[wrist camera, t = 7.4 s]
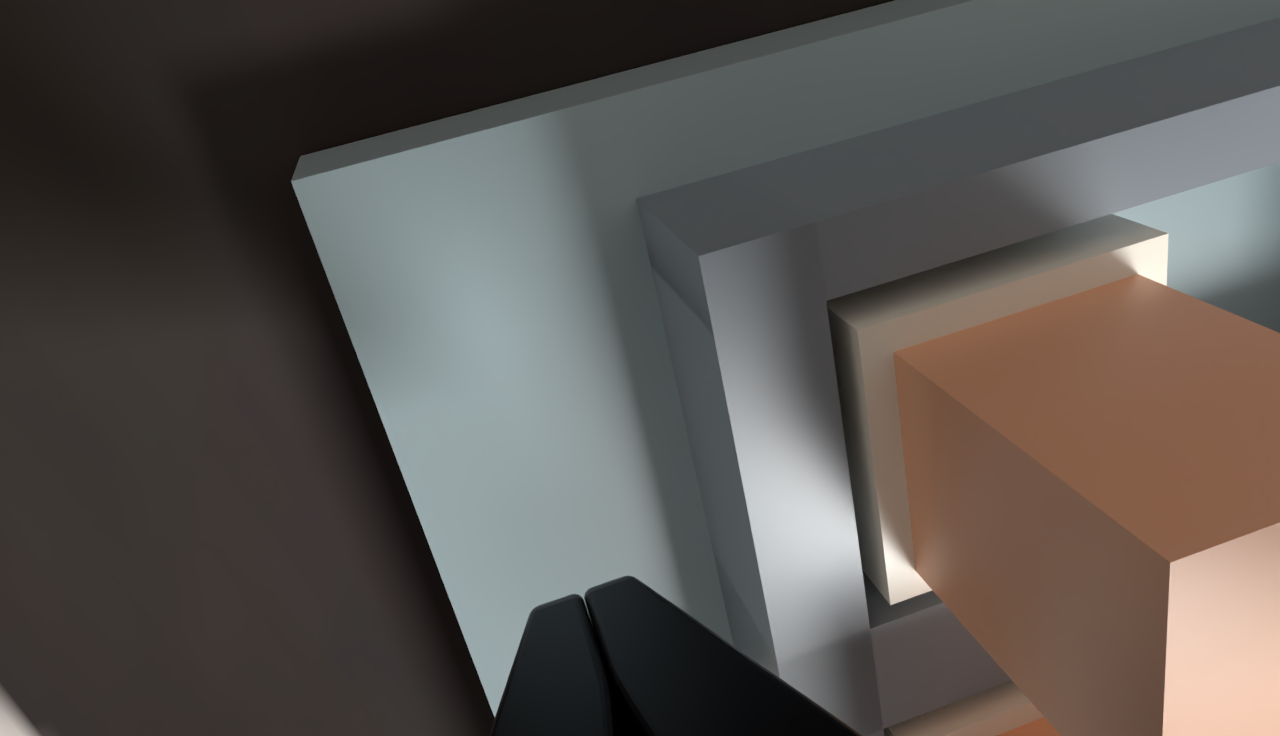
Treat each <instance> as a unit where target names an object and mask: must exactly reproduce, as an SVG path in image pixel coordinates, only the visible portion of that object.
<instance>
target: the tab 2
mask: <svg viewBox="0 0 1280 736" xmlns="http://www.w3.org/2000/svg"><path fill="white" fill-rule="evenodd" d="M884 736H1061V735H1060V734H1059V733H1058V732H1057V731H1056V730H1055V729H1054V728H1053V726H1052V725H1051V724H1050V723H1049V722H1048V721H1047V720H1046V718H1045V717H1044V716H1043V715H1042V714H1041V713H1040V712H1039V710H1038V709H1037V708H1036V707H1035V706H1034V705H1033V704H1032V703H1031V701H1030V700H1029V699H1028V698H1027V697H1026V696H1025V695H1024V693H1023V692H1022V691H1021V690H1020V689H1019V688H1018V687H1017V686H1016V684H1015V683H1014V682H1013V681H1009V682H1007V683H1004V684H1001V685H999V686H996V687H994V688H991V689H988V690H986V691H983V692H980V693H978V694H975V695H972V696H970V697H967V698H964V699H962V700H959V701H956V702H954V703H951V704H948V705H946V706H943V707H940V708H938V709H935V710H932V711H930V712H927V713H925V714H922V715H919V716H917V717H914V718H911V719H909V720H906V721H903V722H901V723H898V724H895V725H893V726H890V727H887V728H885V729H884Z"/></svg>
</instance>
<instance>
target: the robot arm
mask: <svg viewBox="0 0 1280 736" xmlns="http://www.w3.org/2000/svg"><path fill="white" fill-rule="evenodd" d="M584 600H585V602H584ZM584 600H583V598H582V597H581V596H580V595H579V594H570V595H567V596H565V597H562V598H559V599H556V600H553V601H550V602H547V603H544V604H541V605H538V606H537V607H535V608H533V610H532V611H531V612H530V614H529V617H528V620H527V623H526V626H525V629H524V632H523V635H522V638H521V641H520V644H519V647H518V650H517V653H516V656H515V659H514V662H513V665H512V668H511V671H510V674H509V677H508V680H507V683H506V686H505V689H504V692H503V695H502V698H501V701H500V704H499V707H498V710H497V713H496V716H495V719H494V722H493V725H492V728H491V731H490V734H489V736H863V735H862V734H860V733H859V732H857V731H856V730H854V729H853V728H851V727H850V726H849V725H847V724H846V723H844V722H843V721H841V720H840V719H839V718H837V717H836V716H834V715H833V714H831V713H830V712H828V711H827V710H826V709H824V708H823V707H821V706H820V705H818V704H817V703H815V702H814V701H813V700H811V699H810V698H808V697H807V696H805V695H804V694H802V693H801V692H800V691H798V690H797V689H795V688H794V687H792V686H791V685H790V684H788V683H787V682H785V681H784V680H782V679H781V678H779V677H778V676H777V675H775V674H774V673H772V672H771V671H769V670H768V669H766V668H765V667H764V666H762V665H761V664H759V663H758V662H756V661H755V660H753V659H752V658H751V657H749V656H748V655H746V654H745V653H743V652H742V651H741V650H739V649H738V648H736V647H735V646H733V645H732V644H730V643H729V642H728V641H726V640H725V639H723V638H722V637H720V636H719V635H717V634H716V633H715V632H713V631H712V630H710V629H709V628H707V627H706V626H704V625H703V624H702V623H700V622H699V621H697V620H696V619H694V618H693V617H692V616H690V615H689V614H687V613H686V612H684V611H683V610H681V609H680V608H679V607H677V606H676V605H674V604H673V603H671V602H670V601H668V600H667V599H666V598H664V597H663V596H661V595H660V594H658V593H657V592H655V591H654V590H653V589H651V588H650V587H648V586H647V585H645V584H644V583H643V582H641V581H640V580H638V579H637V578H635V577H633V576H629V575H627V576H623V577H620V578H617V579H614V580H611V581H608V582H605V583H602V584H600V585H597V586H594V587H591V588H589V589H588V590H587V591H586V592H585V595H584ZM585 603H586V605H585ZM586 607H587V608H586ZM587 610H588V611H587ZM588 613H589V614H588Z"/></svg>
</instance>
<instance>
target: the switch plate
mask: <svg viewBox="0 0 1280 736" xmlns="http://www.w3.org/2000/svg"><path fill="white" fill-rule="evenodd" d="M291 183H292V186H293V188H294V191H295V193H296V196H297V199H298V201H299V204H300V207H301V209H302V212H303V214H304V217H305V220H306V222H307V225H308V228H309V230H310V233H311V236H312V238H313V241H314V243H315V246H316V249H317V251H318V254H319V257H320V259H321V262H322V265H323V267H324V270H325V272H326V275H327V278H328V280H329V283H330V286H331V288H332V291H333V293H334V296H335V299H336V301H337V304H338V307H339V309H340V312H341V315H342V317H343V320H344V322H345V325H346V328H347V330H348V333H349V336H350V338H351V341H352V344H353V346H354V349H355V351H356V354H357V357H358V359H359V362H360V365H361V367H362V370H363V372H364V375H365V378H366V380H367V383H368V386H369V388H370V391H371V394H372V396H373V399H374V401H375V404H376V407H377V409H378V412H379V415H380V417H381V420H382V422H383V425H384V428H385V430H386V433H387V436H388V438H389V441H390V444H391V446H392V449H393V451H394V454H395V457H396V459H397V462H398V465H399V467H400V470H401V473H402V475H403V478H404V480H405V483H406V486H407V488H408V491H409V494H410V496H411V499H412V501H413V504H414V507H415V509H416V512H417V515H418V517H419V520H420V523H421V525H422V528H423V530H424V533H425V536H426V538H427V541H428V544H429V546H430V549H431V552H432V554H433V557H434V559H435V562H436V565H437V567H438V570H439V573H440V575H441V578H442V580H443V583H444V586H445V588H446V591H447V594H448V596H449V599H450V602H451V604H452V607H453V609H454V612H455V615H456V617H457V620H458V623H459V625H460V628H461V631H462V633H463V636H464V638H465V641H466V644H467V646H468V649H469V652H470V654H471V657H472V659H473V662H474V665H475V667H476V670H477V673H478V675H479V678H480V681H481V683H482V686H483V688H484V691H485V694H486V696H487V699H488V702H489V704H490V707H491V709H492V712H493V715H494V717H495V716H496V713H497V710H498V707H499V704H500V701H501V698H502V695H503V692H504V689H505V686H506V683H507V680H508V677H509V674H510V671H511V668H512V665H513V662H514V659H515V656H516V653H517V650H518V647H519V644H520V641H521V638H522V635H523V632H524V629H525V626H526V623H527V620H528V617H529V614H530V612H531V611H532V610H533V608H535V607H537V606H538V605H541V604H544V603H547V602H550V601H553V600H556V599H559V598H562V597H565V596H567V595H570V594H579V595H580V596H581V597H582V598H583V600H584V595H585V592H586V591H587V590H588V589H589V588H591V587H594V586H597V585H600V584H602V583H605V582H608V581H611V580H614V579H617V578H620V577H623V576H627V575H629V576H633V577H635V578H637V579H638V580H640V581H641V582H643V583H644V584H645V585H647V586H648V587H650V588H651V589H653V590H654V591H655V592H657V593H658V594H660V595H661V596H663V597H664V598H666V599H667V600H668V601H670V602H671V603H673V604H674V605H676V606H677V607H679V608H680V609H681V610H683V611H684V612H686V613H687V614H689V615H690V616H692V617H693V618H694V619H696V620H697V621H699V622H700V623H702V624H703V625H704V626H706V627H707V628H709V629H710V630H712V631H713V632H715V633H716V634H717V635H719V636H720V637H722V638H723V639H725V640H726V641H728V642H729V643H730V644H732V645H733V646H735V647H736V648H738V649H739V650H741V651H742V652H743V653H745V654H746V655H748V656H749V657H751V658H752V659H753V660H755V661H756V662H758V663H759V664H761V665H762V666H764V667H765V668H766V669H768V670H769V671H771V672H772V673H774V674H775V675H777V676H778V677H779V678H781V679H782V680H784V681H785V682H787V683H788V684H790V685H791V686H792V687H794V688H795V689H797V690H798V691H800V692H801V693H802V694H804V695H805V696H807V697H808V698H810V699H811V700H813V701H814V702H815V703H817V704H818V705H820V706H821V707H823V708H824V709H826V710H827V711H828V712H830V713H831V714H833V715H834V716H836V717H837V718H839V719H840V720H841V721H843V722H844V723H846V724H847V725H849V726H850V727H851V728H853V729H854V730H856V731H857V732H859V733H860V734H862V735H863V736H884V729H885V728H887V727H890V726H893V725H895V724H898V723H901V722H903V721H906V720H909V719H911V718H914V717H917V716H919V715H922V714H925V713H927V712H930V711H932V710H935V709H938V708H940V707H943V706H946V705H948V704H951V703H954V702H956V701H959V700H962V699H964V698H967V697H970V696H972V695H975V694H978V693H980V692H983V691H986V690H988V689H991V688H994V687H996V686H999V685H1001V684H1004V683H1007V682H1009V681H1012V680H1011V679H1010V678H1009V676H1008V675H1007V674H1006V673H1005V672H1004V671H1003V670H1002V669H1001V667H1000V666H999V665H998V664H997V663H996V662H995V661H994V659H993V658H992V657H991V656H990V655H989V654H988V653H987V651H986V650H985V649H984V648H983V647H982V646H981V645H980V644H979V642H978V641H977V640H976V639H975V638H974V637H973V636H972V634H971V633H970V632H969V631H968V630H967V629H966V628H965V627H964V625H963V624H962V623H961V622H960V621H959V620H958V619H957V617H956V616H955V615H954V614H953V613H952V612H951V611H950V610H949V608H948V607H947V606H946V605H945V604H944V603H943V602H942V600H941V599H940V598H939V597H938V596H937V595H936V594H935V592H934V591H933V590H932V591H929V592H926V593H923V594H921V595H918V596H915V597H912V598H909V599H907V600H904V601H901V602H898V603H895V604H893V605H890V604H889V603H888V602H887V600H886V599H885V598H884V597H883V595H882V594H881V593H880V592H879V590H878V589H877V588H876V587H875V585H874V584H873V583H872V581H871V580H870V579H869V578H868V576H867V575H866V574H865V573H864V571H863V570H862V565H861V557H860V550H859V542H858V535H857V527H856V520H855V512H854V505H853V497H852V490H851V482H850V475H849V467H848V460H847V452H846V445H845V437H844V430H843V422H842V415H841V407H840V400H839V392H838V385H837V378H836V370H835V363H834V355H833V348H832V340H831V333H830V325H829V318H828V310H827V303H826V301H828V300H831V299H835V298H838V297H841V296H845V295H848V294H851V293H854V292H858V291H861V290H864V289H867V288H871V287H874V286H877V285H880V284H884V283H887V282H890V281H894V280H897V279H900V278H903V277H907V276H910V275H913V274H916V273H920V272H923V271H926V270H929V269H933V268H936V267H939V266H943V265H946V264H949V263H952V262H956V261H959V260H962V259H965V258H969V257H972V256H975V255H978V254H982V253H985V252H988V251H992V250H995V249H998V248H1001V247H1005V246H1008V245H1011V244H1014V243H1018V242H1021V241H1024V240H1027V239H1031V238H1034V237H1037V236H1041V235H1044V234H1047V233H1050V232H1054V231H1057V230H1060V229H1063V228H1067V227H1070V226H1073V225H1076V224H1080V223H1083V222H1086V221H1090V220H1093V219H1096V218H1099V217H1103V216H1106V215H1109V214H1114V215H1117V216H1120V217H1123V218H1126V219H1128V220H1131V221H1134V222H1137V223H1140V224H1143V225H1146V226H1149V227H1151V228H1154V229H1157V230H1160V231H1163V232H1166V233H1169V235H1168V262H1167V286H1168V287H1170V288H1173V289H1175V290H1177V291H1180V292H1182V293H1185V294H1187V295H1189V296H1192V297H1194V298H1197V299H1199V300H1202V301H1204V302H1206V303H1209V304H1211V305H1214V306H1216V307H1218V308H1221V309H1223V310H1226V311H1228V312H1230V313H1233V314H1235V315H1238V316H1240V317H1242V318H1245V319H1247V320H1250V321H1252V322H1254V323H1257V324H1259V325H1262V326H1264V327H1266V328H1269V329H1271V330H1274V331H1276V332H1278V333H1280V0H895V1H891V2H887V3H883V4H879V5H876V6H872V7H868V8H864V9H860V10H857V11H853V12H849V13H845V14H841V15H837V16H834V17H830V18H826V19H822V20H818V21H814V22H811V23H807V24H803V25H799V26H795V27H792V28H788V29H784V30H780V31H776V32H772V33H769V34H765V35H761V36H757V37H753V38H750V39H746V40H742V41H738V42H734V43H730V44H727V45H723V46H719V47H715V48H711V49H707V50H704V51H700V52H696V53H692V54H688V55H685V56H681V57H677V58H673V59H669V60H665V61H662V62H658V63H654V64H650V65H646V66H642V67H639V68H635V69H631V70H627V71H623V72H620V73H616V74H612V75H608V76H604V77H600V78H597V79H593V80H589V81H585V82H581V83H578V84H574V85H570V86H566V87H562V88H558V89H555V90H551V91H547V92H543V93H539V94H535V95H532V96H528V97H524V98H520V99H516V100H513V101H509V102H505V103H501V104H497V105H493V106H490V107H486V108H482V109H478V110H474V111H471V112H467V113H463V114H459V115H455V116H451V117H448V118H444V119H440V120H436V121H432V122H428V123H425V124H421V125H417V126H413V127H409V128H406V129H402V130H398V131H394V132H390V133H386V134H383V135H379V136H375V137H371V138H367V139H364V140H360V141H356V142H352V143H348V144H344V145H341V146H337V147H333V148H329V149H325V150H321V151H318V152H314V153H310V154H306V155H302V156H300V158H299V161H298V163H297V166H296V169H295V172H294V174H293V177H292V180H291ZM584 602H585V600H584ZM585 605H586V603H585ZM586 608H587V607H586ZM587 611H588V610H587ZM588 614H589V613H588Z"/></svg>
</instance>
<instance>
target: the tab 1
mask: <svg viewBox="0 0 1280 736" xmlns="http://www.w3.org/2000/svg"><path fill="white" fill-rule="evenodd" d="M1168 235H1169V233H1166V232H1163V231H1160V230H1157V229H1154V228H1151V227H1149V226H1146V225H1143V224H1140V223H1137V222H1134V221H1131V220H1128V219H1126V218H1123V217H1120V216H1117V215H1114V214H1109V215H1106V216H1103V217H1099V218H1096V219H1093V220H1090V221H1086V222H1083V223H1080V224H1076V225H1073V226H1070V227H1067V228H1063V229H1060V230H1057V231H1054V232H1050V233H1047V234H1044V235H1041V236H1037V237H1034V238H1031V239H1027V240H1024V241H1021V242H1018V243H1014V244H1011V245H1008V246H1005V247H1001V248H998V249H995V250H992V251H988V252H985V253H982V254H978V255H975V256H972V257H969V258H965V259H962V260H959V261H956V262H952V263H949V264H946V265H943V266H939V267H936V268H933V269H929V270H926V271H923V272H920V273H916V274H913V275H910V276H907V277H903V278H900V279H897V280H894V281H890V282H887V283H884V284H880V285H877V286H874V287H871V288H867V289H864V290H861V291H858V292H854V293H851V294H848V295H845V296H841V297H838V298H835V299H831V300H828V301H826V303H827V310H828V318H829V325H830V333H831V340H832V348H833V355H834V363H835V370H836V378H837V385H838V392H839V400H840V407H841V415H842V422H843V430H844V437H845V445H846V452H847V460H848V467H849V475H850V482H851V490H852V497H853V505H854V512H855V520H856V527H857V535H858V542H859V550H860V557H861V565H862V570H863V571H864V573H865V574H866V575H867V576H868V578H869V579H870V580H871V581H872V583H873V584H874V585H875V587H876V588H877V589H878V590H879V592H880V593H881V594H882V595H883V597H884V598H885V599H886V600H887V602H888V603H889V604H890V605H893V604H895V603H898V602H901V601H904V600H907V599H909V598H912V597H915V596H918V595H921V594H923V593H926V592H929V591H932V590H933V591H934V592H935V594H936V595H937V596H938V597H939V598H940V599H941V600H942V602H943V603H944V604H945V605H946V606H947V607H948V608H949V610H950V611H951V612H952V613H953V614H954V615H955V616H956V617H957V619H958V620H959V621H960V622H961V623H962V624H963V625H964V627H965V628H966V629H967V630H968V631H969V632H970V633H971V634H972V636H973V637H974V638H975V639H976V640H977V641H978V642H979V644H980V645H981V646H982V647H983V648H984V649H985V650H986V651H987V653H988V654H989V655H990V656H991V657H992V658H993V659H994V661H995V662H996V663H997V664H998V665H999V666H1000V667H1001V669H1002V670H1003V671H1004V672H1005V673H1006V674H1007V675H1008V676H1009V678H1010V679H1011V680H1012V681H1013V682H1014V683H1015V684H1016V686H1017V687H1018V688H1019V689H1020V690H1021V691H1022V692H1023V693H1024V695H1025V696H1026V697H1027V698H1028V699H1029V700H1030V701H1031V703H1032V704H1033V705H1034V706H1035V707H1036V708H1037V709H1038V710H1039V712H1040V713H1041V714H1042V715H1043V716H1044V717H1045V718H1046V720H1047V721H1048V722H1049V723H1050V724H1051V725H1052V726H1053V728H1054V729H1055V730H1056V731H1057V732H1058V733H1059V734H1060V735H1061V736H1280V333H1278V332H1276V331H1274V330H1271V329H1269V328H1266V327H1264V326H1262V325H1259V324H1257V323H1254V322H1252V321H1250V320H1247V319H1245V318H1242V317H1240V316H1238V315H1235V314H1233V313H1230V312H1228V311H1226V310H1223V309H1221V308H1218V307H1216V306H1214V305H1211V304H1209V303H1206V302H1204V301H1202V300H1199V299H1197V298H1194V297H1192V296H1189V295H1187V294H1185V293H1182V292H1180V291H1177V290H1175V289H1173V288H1170V287H1168V286H1167V262H1168Z"/></svg>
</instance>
